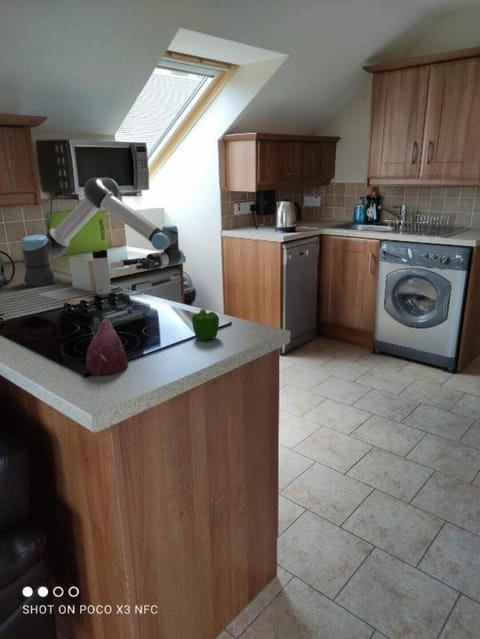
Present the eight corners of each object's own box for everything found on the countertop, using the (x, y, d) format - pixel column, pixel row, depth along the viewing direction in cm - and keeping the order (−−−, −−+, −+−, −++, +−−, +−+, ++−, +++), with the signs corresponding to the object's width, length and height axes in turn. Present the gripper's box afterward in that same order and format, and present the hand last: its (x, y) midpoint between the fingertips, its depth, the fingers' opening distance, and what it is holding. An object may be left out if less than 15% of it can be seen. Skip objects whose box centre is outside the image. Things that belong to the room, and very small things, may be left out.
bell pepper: (205, 332, 149) (204, 302, 146) (224, 337, 144) (223, 306, 141) (186, 339, 143) (184, 308, 140) (206, 344, 138) (204, 312, 135)
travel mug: (102, 297, 199) (97, 251, 193) (94, 295, 203) (88, 249, 198) (114, 294, 204) (110, 249, 198) (106, 292, 208) (101, 248, 202)
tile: (76, 287, 218) (72, 257, 214) (96, 291, 208) (92, 260, 204) (72, 287, 217) (68, 258, 213) (92, 292, 207) (88, 261, 203)
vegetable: (102, 371, 128) (98, 317, 128) (135, 370, 125) (131, 314, 125) (78, 377, 118) (73, 318, 118) (112, 376, 115) (108, 315, 115)
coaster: (69, 300, 195) (68, 298, 195) (98, 298, 197) (98, 296, 197) (64, 307, 184) (63, 305, 183) (95, 305, 186) (95, 303, 185)
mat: (80, 286, 222) (80, 285, 222) (104, 291, 210) (104, 290, 209) (36, 295, 206) (36, 294, 206) (60, 301, 193) (59, 300, 193)
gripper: (174, 270, 216) (138, 278, 201) (140, 265, 232) (104, 272, 216) (173, 254, 214) (137, 261, 199) (139, 250, 230) (103, 256, 214)
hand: (120, 267), depth 207 cm, fingers open, 13 cm apart
